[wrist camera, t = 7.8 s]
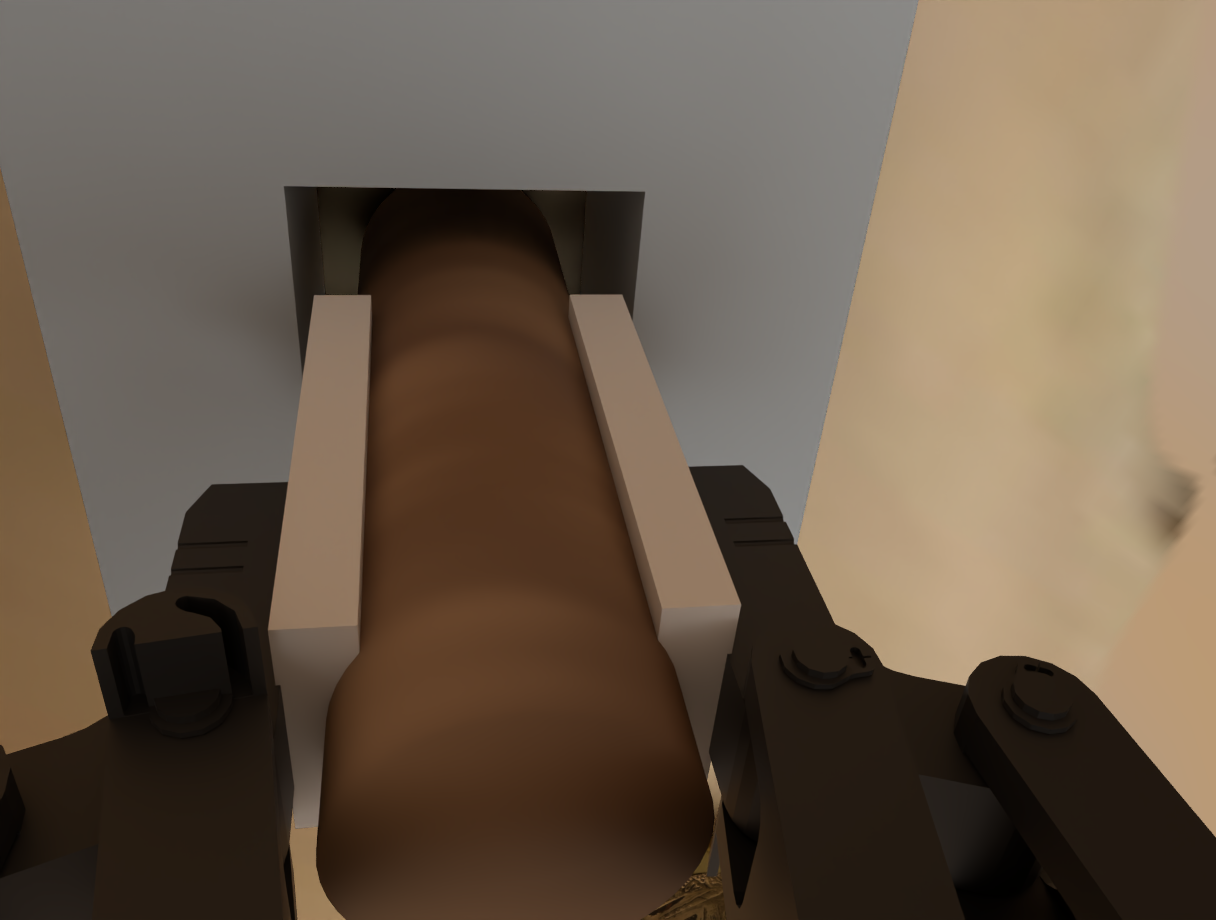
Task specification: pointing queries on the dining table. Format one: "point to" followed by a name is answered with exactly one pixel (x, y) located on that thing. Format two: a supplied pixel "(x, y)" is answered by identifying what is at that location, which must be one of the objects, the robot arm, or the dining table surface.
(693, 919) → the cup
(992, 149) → the dining table surface
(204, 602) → the robot arm
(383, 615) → the walnut peg
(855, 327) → the dining table surface
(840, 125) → the socket block
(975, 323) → the dining table surface
